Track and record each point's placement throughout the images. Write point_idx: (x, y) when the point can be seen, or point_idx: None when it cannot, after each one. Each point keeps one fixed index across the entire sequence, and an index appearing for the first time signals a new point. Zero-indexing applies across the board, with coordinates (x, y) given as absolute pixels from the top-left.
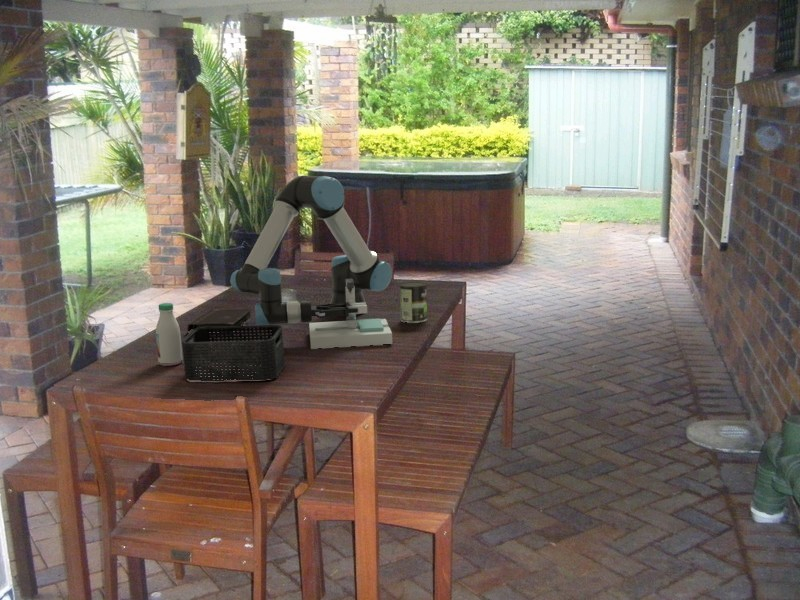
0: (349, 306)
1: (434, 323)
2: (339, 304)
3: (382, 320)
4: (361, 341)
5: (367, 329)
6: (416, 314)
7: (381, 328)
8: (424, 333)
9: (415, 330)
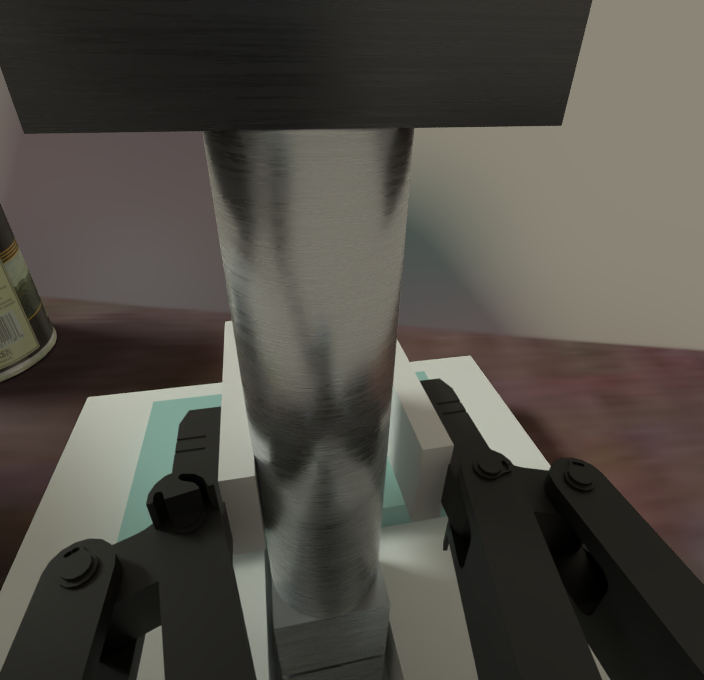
0: (436, 435)
1: (103, 304)
2: (215, 631)
3: (132, 408)
4: None
5: None
6: (38, 308)
7: None
8: None
9: (198, 345)
